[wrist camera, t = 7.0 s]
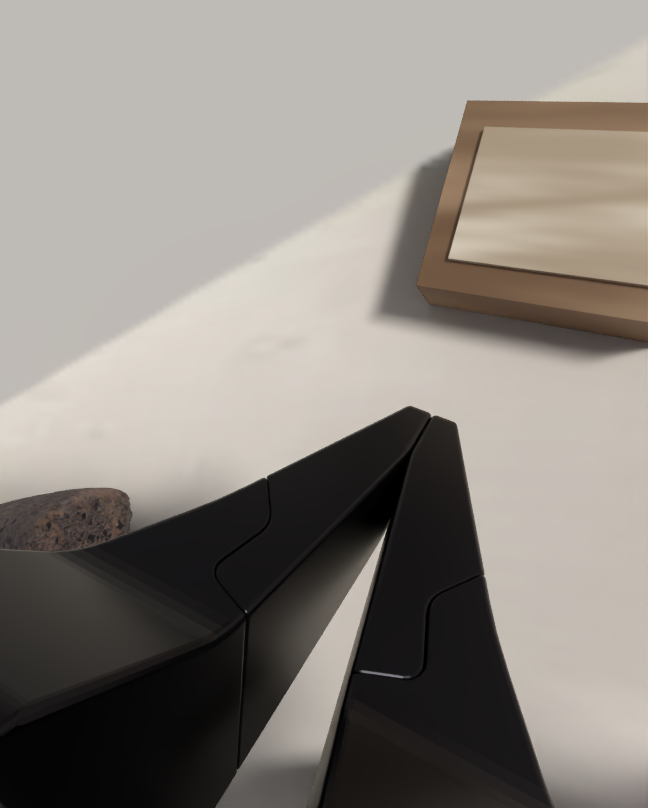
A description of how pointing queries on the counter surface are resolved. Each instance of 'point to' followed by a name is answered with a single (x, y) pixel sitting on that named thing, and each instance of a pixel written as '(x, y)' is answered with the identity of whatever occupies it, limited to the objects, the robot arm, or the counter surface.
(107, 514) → the perforated stone tool
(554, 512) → the counter surface
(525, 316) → the walnut block
